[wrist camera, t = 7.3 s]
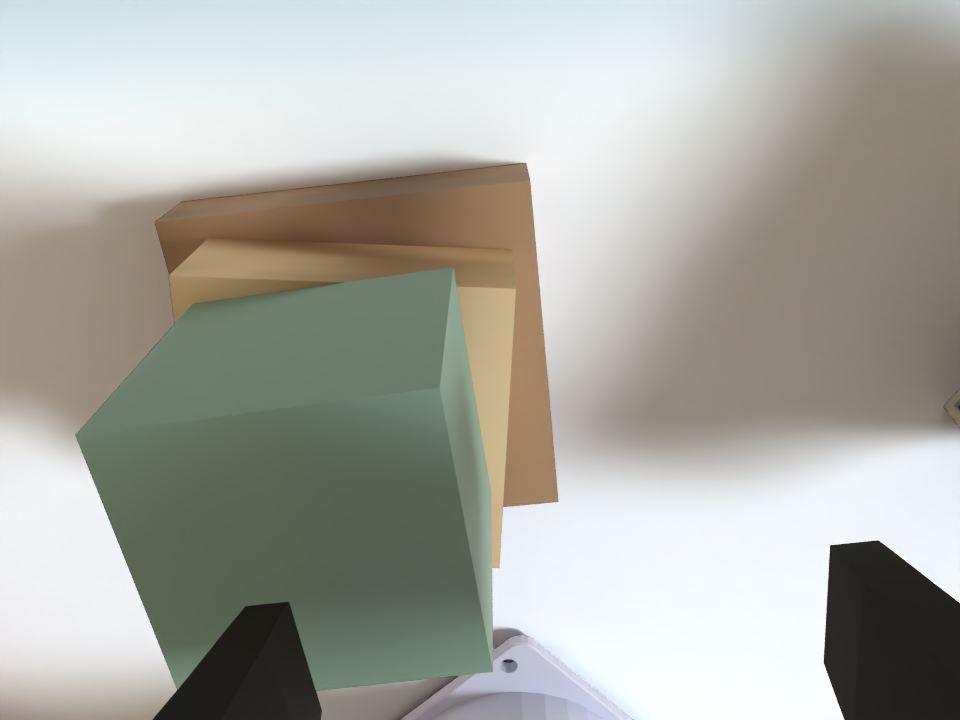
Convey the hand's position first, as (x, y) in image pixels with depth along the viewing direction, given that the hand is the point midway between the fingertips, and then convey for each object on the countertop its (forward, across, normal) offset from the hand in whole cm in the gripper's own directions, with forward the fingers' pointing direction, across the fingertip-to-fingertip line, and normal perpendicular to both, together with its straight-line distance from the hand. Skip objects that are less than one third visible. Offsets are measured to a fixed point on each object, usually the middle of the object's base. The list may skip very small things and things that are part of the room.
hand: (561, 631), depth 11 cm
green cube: (+6, +4, -1) cm, 7 cm away
